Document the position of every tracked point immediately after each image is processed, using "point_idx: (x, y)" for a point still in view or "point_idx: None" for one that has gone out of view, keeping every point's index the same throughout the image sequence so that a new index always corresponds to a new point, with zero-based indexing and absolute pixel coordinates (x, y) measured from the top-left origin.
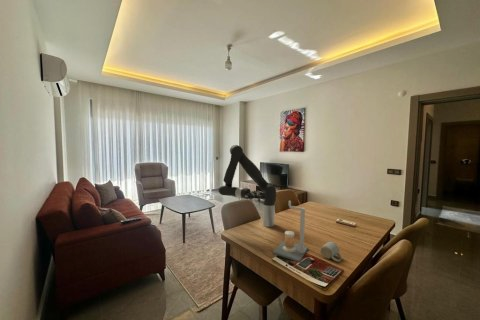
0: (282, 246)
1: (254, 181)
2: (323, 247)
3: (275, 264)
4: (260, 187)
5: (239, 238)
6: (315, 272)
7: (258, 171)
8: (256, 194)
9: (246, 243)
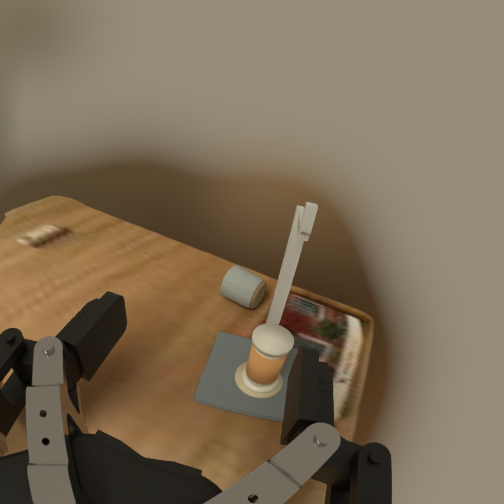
0: (252, 399)
1: None
2: (259, 289)
3: (358, 404)
4: None
5: None
6: (328, 329)
7: None
8: (6, 434)
9: None
